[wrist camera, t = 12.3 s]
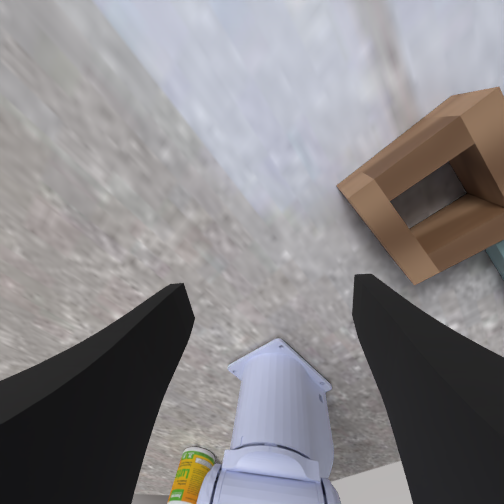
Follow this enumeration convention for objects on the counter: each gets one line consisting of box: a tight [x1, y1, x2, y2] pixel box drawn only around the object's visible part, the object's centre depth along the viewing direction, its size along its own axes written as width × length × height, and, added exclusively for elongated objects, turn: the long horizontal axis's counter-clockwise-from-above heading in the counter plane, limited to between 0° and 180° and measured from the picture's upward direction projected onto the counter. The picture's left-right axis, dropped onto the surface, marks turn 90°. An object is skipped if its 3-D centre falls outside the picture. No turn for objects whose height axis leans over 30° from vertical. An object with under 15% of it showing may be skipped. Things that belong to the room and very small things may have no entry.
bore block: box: [337, 87, 504, 285], centre depth 15 cm, size 8×8×4 cm
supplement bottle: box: [167, 447, 215, 504], centre depth 35 cm, size 5×5×10 cm
